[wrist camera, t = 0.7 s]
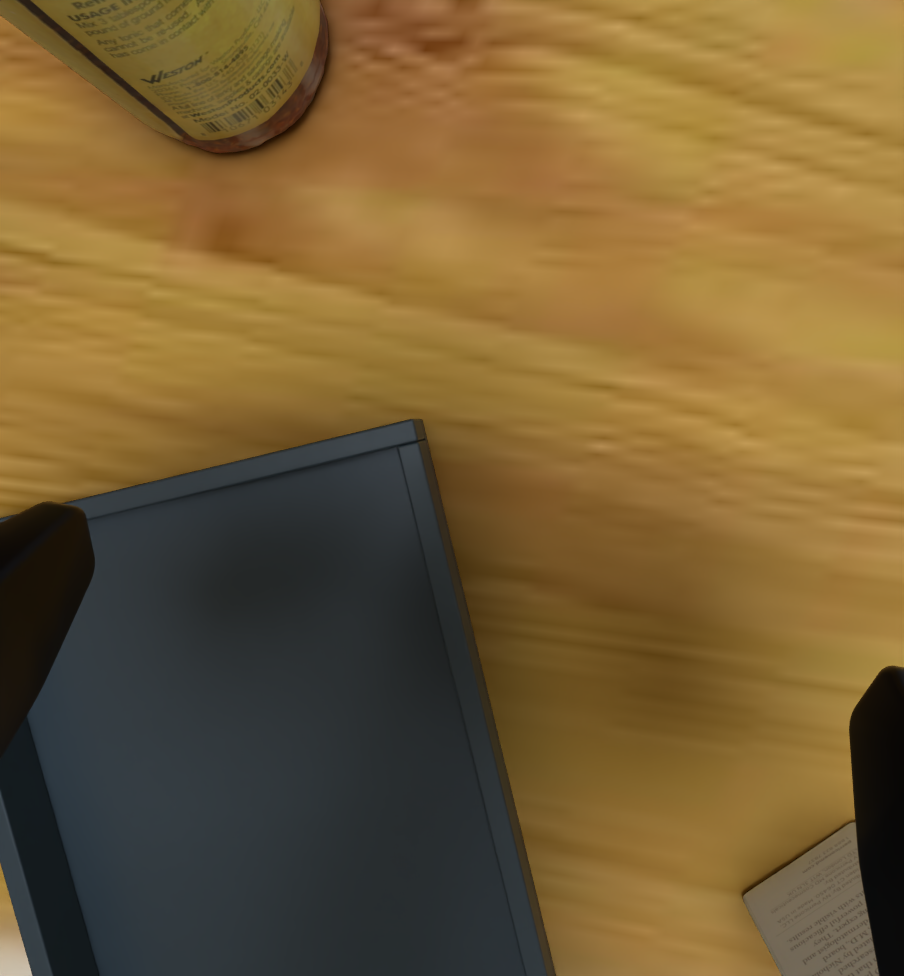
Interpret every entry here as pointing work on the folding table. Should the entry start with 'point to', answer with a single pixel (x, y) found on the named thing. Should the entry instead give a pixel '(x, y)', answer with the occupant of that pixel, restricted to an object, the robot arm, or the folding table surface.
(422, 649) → the tray
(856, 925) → the cosmetic box
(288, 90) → the sauce bottle
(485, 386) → the folding table surface
